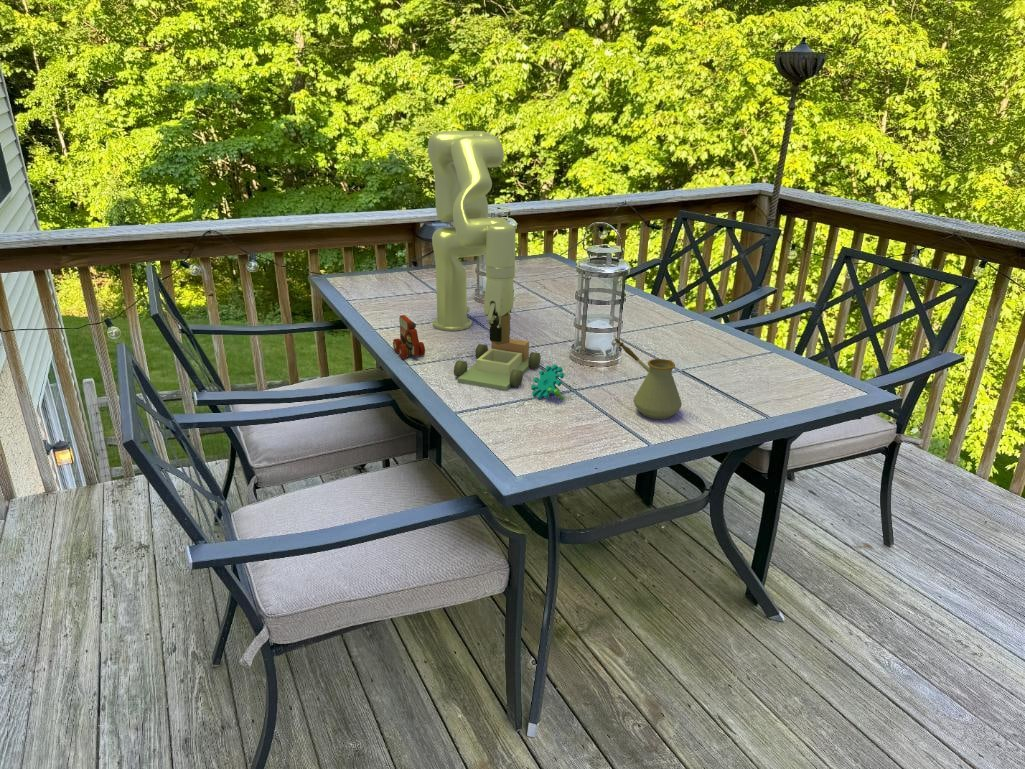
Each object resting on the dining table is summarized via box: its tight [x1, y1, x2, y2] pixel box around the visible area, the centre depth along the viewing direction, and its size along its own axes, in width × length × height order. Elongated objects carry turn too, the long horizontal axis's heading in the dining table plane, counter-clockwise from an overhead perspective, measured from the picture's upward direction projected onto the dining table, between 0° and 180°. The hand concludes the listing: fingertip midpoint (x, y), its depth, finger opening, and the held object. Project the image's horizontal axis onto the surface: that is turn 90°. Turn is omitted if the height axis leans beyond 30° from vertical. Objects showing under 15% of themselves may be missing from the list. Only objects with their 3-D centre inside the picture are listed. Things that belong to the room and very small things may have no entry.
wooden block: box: [492, 313, 511, 345], centre depth 197 cm, size 4×4×8 cm
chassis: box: [453, 338, 542, 392], centre depth 200 cm, size 22×18×6 cm
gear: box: [530, 363, 565, 401], centre depth 186 cm, size 11×6×10 cm
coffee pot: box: [611, 337, 683, 420], centre depth 179 cm, size 21×12×15 cm, turn 39°
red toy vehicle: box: [392, 314, 426, 359], centre depth 211 cm, size 7×12×10 cm, turn 26°
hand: (499, 337), depth 198 cm, fingers closed on wooden block, 5 cm apart
